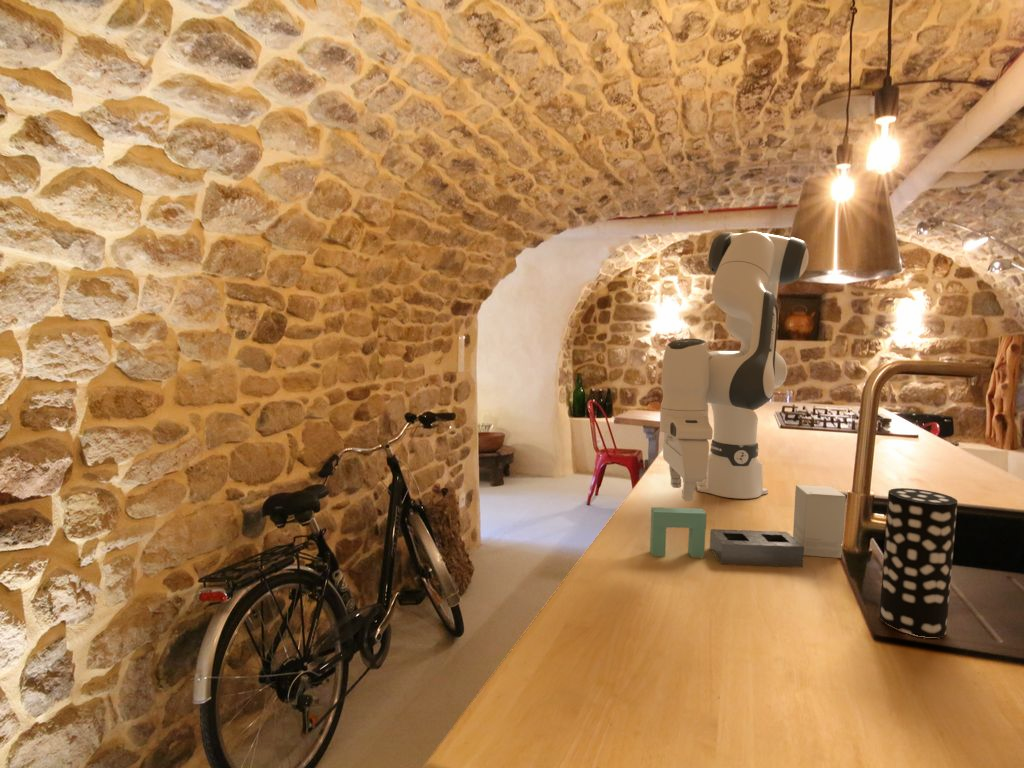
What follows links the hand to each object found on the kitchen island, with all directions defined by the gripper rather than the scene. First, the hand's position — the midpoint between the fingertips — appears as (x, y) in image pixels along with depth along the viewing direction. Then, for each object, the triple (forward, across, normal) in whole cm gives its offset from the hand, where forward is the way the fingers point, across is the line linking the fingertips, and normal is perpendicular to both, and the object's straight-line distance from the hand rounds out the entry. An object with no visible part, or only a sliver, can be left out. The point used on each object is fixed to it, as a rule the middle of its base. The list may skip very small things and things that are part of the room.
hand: (681, 493), depth 110 cm
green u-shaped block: (+13, -1, 0) cm, 13 cm away
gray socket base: (+13, -1, +15) cm, 19 cm away
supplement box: (+13, -6, +29) cm, 32 cm away
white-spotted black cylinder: (+13, +24, +29) cm, 40 cm away
